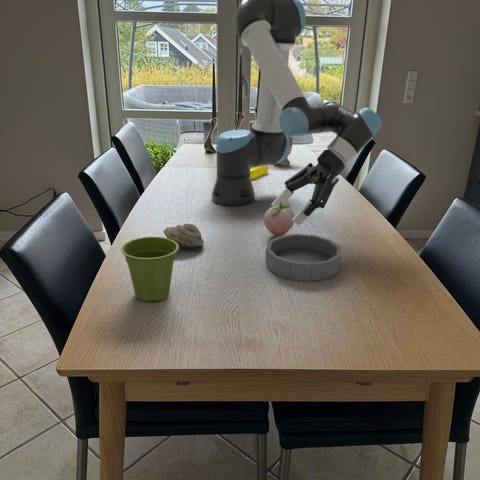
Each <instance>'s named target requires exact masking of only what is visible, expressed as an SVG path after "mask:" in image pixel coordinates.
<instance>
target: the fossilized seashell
mask: <svg viewBox="0 0 480 480" xmlns="http://www.w3.org/2000/svg"><path fill="white" fill-rule="evenodd" d="M163 233H164V235H165V238H169V239H172V240H173V241H175V242H177V243H178V245H179V247H180V246H181V247H186V248H199V247H203V246H204V243H205V241H204V239H203V237H202V233H201V231H200V229H199V228H198V227H197V226H196V225H194V224H193V223H184V224H182V225H181V224H178V225H176V226H170V227H166V228H165V229H164V230H163Z"/></svg>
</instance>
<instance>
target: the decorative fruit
mask: <svg viewBox="0 0 480 480" xmlns="http://www.w3.org/2000/svg"><path fill="white" fill-rule="evenodd" d="M290 207H291V206H290V205H289V204H288V203H284V204H281V203H280V205H279V206H271V207H270V208H268V209H267V211H266V212H265V213H264V217H263V222H264V226H265V228H266V229H267V231H268V232H269V233H271V234H272V235H274V236H276V237H279V236H284V235H286V234H287V233H288V232H289V231H290V230H291V229H292V228H293V225H294V223H295V222H294V221H293V220H292V219H293V218H294V216H295V215H296V214H295V212H294V211H293V210H292V209H291V208H290Z"/></svg>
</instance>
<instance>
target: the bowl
mask: <svg viewBox="0 0 480 480" xmlns="http://www.w3.org/2000/svg"><path fill="white" fill-rule="evenodd" d="M264 261H265V264H266V265H265V266H266V268H267V269H268V270H269V272H271V273H272V274H274V275H276V276H277V277H280V278H283V279H285V280H290V281H294V282H302V283H303V282H304V283H305V282H306V283H311V282H321V281H325V280H329V279H331V278H333V277H335V276H336V275H337V274H338V273H339V272H340V269H341V262H342V247H341V246H340V245H338V244H337V243H336V242H334V241H333V240H331V239H329V238H325V237H321V236H318V235H313V234H304V233H303V234H300V233H295V234H287V235H286V234H284V235H282V236H276V237H275V238H273V239H270V240H269V241H267V245H266V248H265V258H264Z"/></svg>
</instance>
